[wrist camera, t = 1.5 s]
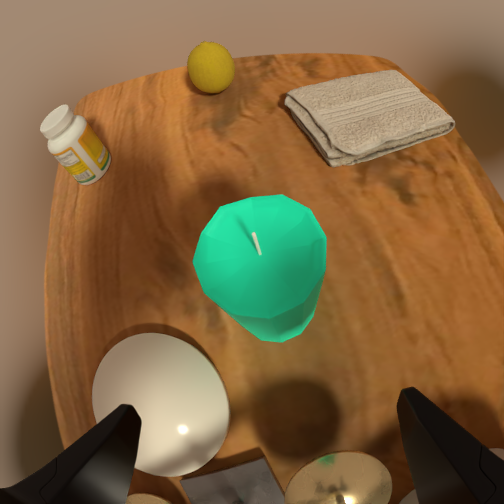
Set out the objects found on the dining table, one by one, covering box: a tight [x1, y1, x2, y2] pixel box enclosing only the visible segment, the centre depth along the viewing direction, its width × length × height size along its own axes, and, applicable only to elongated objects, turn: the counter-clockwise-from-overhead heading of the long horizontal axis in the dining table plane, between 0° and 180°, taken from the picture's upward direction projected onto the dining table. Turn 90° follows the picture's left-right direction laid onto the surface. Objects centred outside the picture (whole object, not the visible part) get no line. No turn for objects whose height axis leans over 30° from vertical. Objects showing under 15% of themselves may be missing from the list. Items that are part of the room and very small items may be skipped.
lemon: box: [187, 41, 235, 94], centre depth 30 cm, size 6×6×8 cm
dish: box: [92, 333, 231, 477], centre depth 20 cm, size 12×12×1 cm
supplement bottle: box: [40, 105, 111, 185], centre depth 28 cm, size 5×5×10 cm
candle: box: [192, 195, 327, 342], centre depth 17 cm, size 6×6×12 cm
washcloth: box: [285, 70, 455, 167], centre depth 28 cm, size 12×18×3 cm, turn 113°
